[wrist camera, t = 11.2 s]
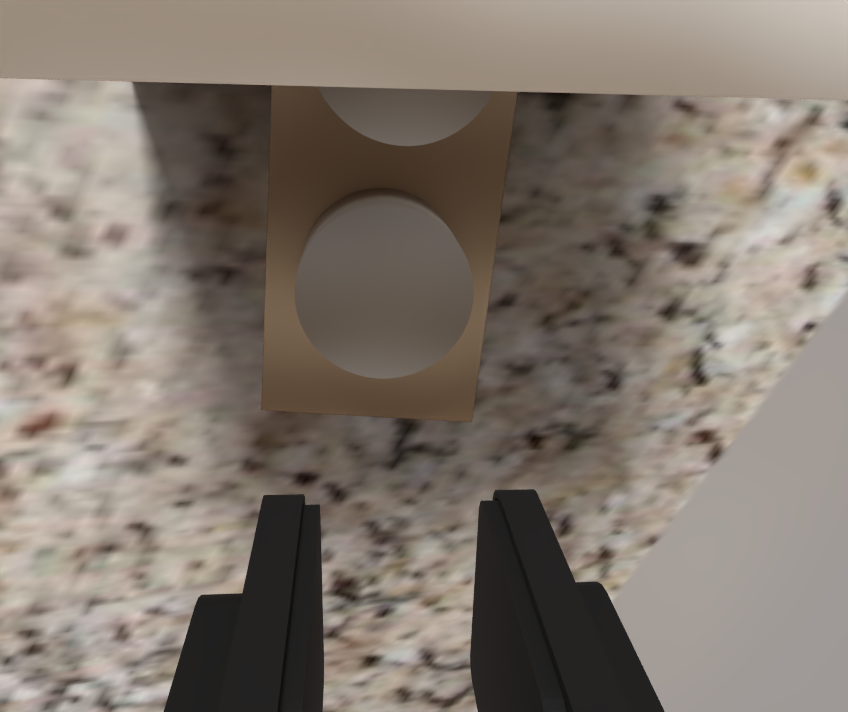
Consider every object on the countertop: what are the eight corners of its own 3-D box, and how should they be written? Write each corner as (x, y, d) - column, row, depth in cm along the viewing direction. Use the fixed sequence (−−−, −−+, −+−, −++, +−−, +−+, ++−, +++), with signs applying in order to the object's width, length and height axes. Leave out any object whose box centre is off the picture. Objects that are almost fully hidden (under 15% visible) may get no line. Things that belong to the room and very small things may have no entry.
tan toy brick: (300, -118, 21) (267, -235, 13) (498, -90, 21) (585, -185, 13) (281, 333, 25) (248, 456, 17) (446, 345, 26) (487, 468, 18)
